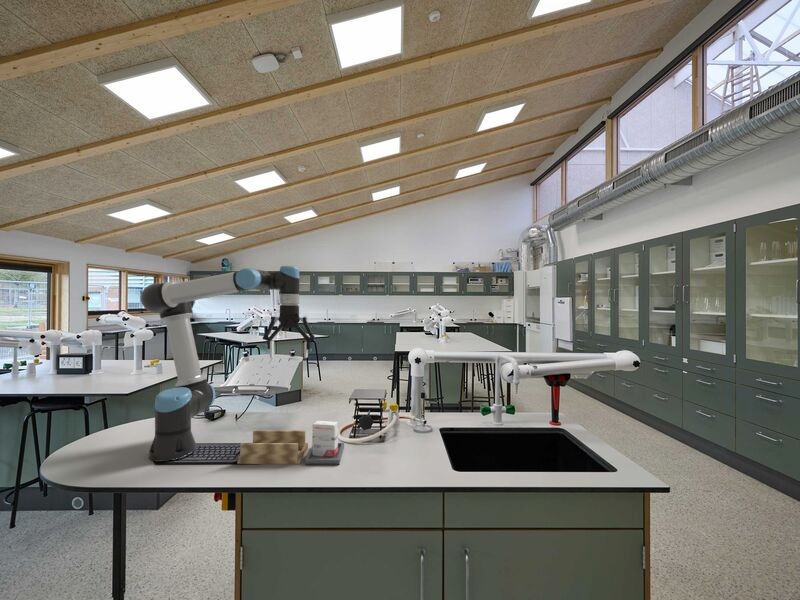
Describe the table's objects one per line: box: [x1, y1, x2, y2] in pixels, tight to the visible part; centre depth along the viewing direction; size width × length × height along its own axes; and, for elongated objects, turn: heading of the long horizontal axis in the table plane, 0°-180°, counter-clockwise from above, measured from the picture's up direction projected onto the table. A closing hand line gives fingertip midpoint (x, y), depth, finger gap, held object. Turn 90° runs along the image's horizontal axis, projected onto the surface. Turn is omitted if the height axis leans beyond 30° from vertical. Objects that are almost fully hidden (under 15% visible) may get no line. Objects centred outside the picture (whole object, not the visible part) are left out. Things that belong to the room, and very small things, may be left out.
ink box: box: [311, 420, 339, 457], centre depth 144 cm, size 9×5×12 cm, turn 82°
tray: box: [304, 442, 345, 466], centre depth 144 cm, size 12×16×2 cm
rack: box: [236, 429, 309, 465], centre depth 144 cm, size 22×14×7 cm, turn 92°
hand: (288, 357), depth 155 cm, fingers open, 13 cm apart
